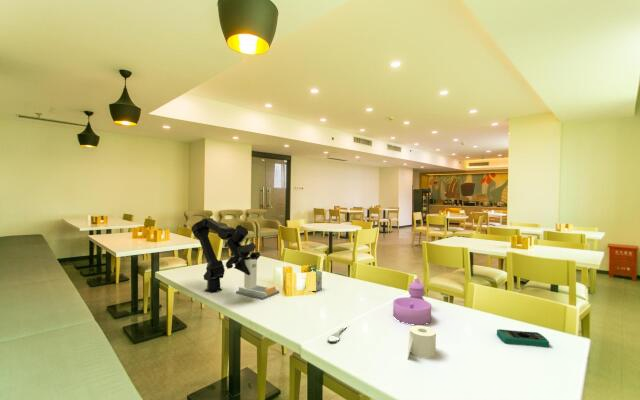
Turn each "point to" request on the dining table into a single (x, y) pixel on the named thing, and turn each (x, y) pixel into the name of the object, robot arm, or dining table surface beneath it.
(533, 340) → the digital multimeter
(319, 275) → the ink box
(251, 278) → the rail module
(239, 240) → the robot arm
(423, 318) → the container set
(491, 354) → the dining table surface
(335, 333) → the spoon
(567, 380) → the dining table surface
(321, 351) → the dining table surface
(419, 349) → the toilet paper
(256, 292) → the rail mount
